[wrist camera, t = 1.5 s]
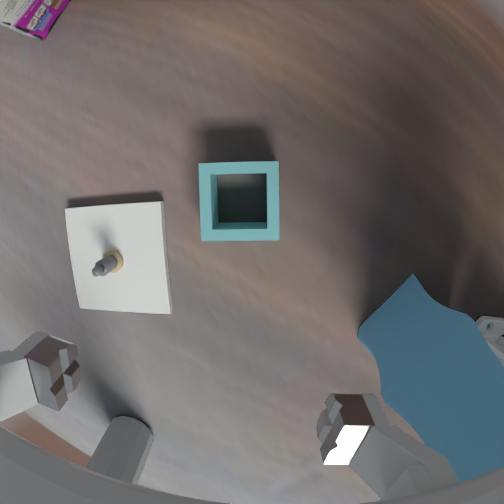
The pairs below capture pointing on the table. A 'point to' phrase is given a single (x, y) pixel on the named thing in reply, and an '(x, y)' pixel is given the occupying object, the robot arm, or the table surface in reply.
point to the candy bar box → (31, 16)
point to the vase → (440, 378)
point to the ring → (237, 230)
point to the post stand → (120, 257)
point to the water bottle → (123, 450)
